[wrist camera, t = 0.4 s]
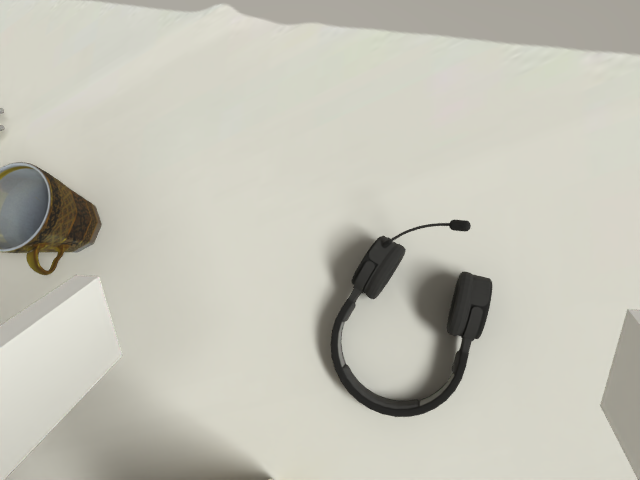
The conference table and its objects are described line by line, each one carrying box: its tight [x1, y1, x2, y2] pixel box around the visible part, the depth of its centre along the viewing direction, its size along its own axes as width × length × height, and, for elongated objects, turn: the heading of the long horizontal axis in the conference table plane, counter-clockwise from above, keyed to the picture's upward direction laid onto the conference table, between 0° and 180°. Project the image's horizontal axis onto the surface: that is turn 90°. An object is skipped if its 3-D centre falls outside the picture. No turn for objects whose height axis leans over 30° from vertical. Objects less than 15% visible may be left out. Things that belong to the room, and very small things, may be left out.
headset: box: [331, 220, 492, 417], centre depth 41 cm, size 14×10×20 cm
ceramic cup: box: [0, 162, 101, 275], centre depth 50 cm, size 13×10×10 cm
